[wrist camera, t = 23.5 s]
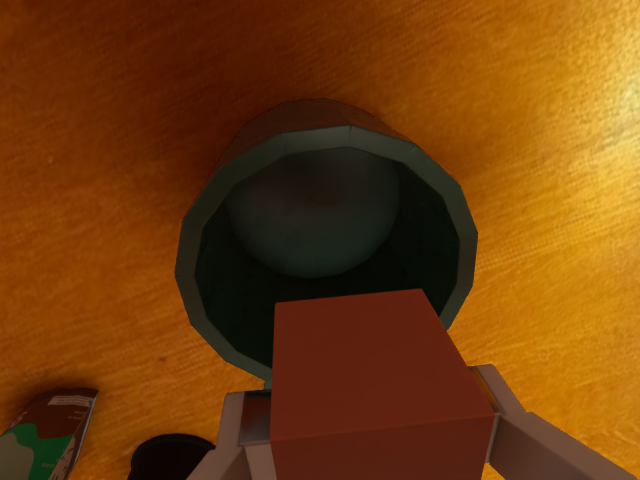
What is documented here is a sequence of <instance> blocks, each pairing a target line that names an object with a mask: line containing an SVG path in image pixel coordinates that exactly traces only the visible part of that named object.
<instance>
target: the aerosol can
mask: <svg viewBox="0 0 640 480" xmlns="http://www.w3.org/2000/svg"><path fill="white" fill-rule="evenodd" d="M215 449H216V448H215V447H214V446H212V445H211V444H210V443H208V442H206V441H204V440H202V439H199V438H196V437H191V436H186V435H167V436H162V437H158V438H155V439H152V440H150V441H148V442H146V443H144V444H143V445H141V446H140V447H139V448H138V449H137V450H136V452H135V453H134V454H133V456H132V459H131V471H130V474H129V476H128V479H127V480H186V479H187V478H188V477H189V475H190V474H191V473H192V472H193V470H194V469H195V468H196V467H197V465H198V464H199V463H200V462H201V461H202V459H203V458H204V457H205V456H206V454H207V453H208V452H209V451H210V450H215Z"/></svg>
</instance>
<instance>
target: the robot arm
mask: <svg viewBox="0 0 640 480" xmlns="http://www.w3.org/2000/svg"><path fill="white" fill-rule="evenodd" d="M467 367H468V368H469V370H470V372H471V374H472V375H473V377H474V379H475V380H476V382H477V384H478V385H479V387H480V389H481V391H482V392H483V394H484V396H485V397H486V399H487V401H488V402H489V404H490V406H491V408H492V409H493V411H494V413H495V419H494V424H493V428H492V432H491V437H490V441H489V446H488V450H487V455H486V459H485V463H489V462H490V465H491V466H492V467H493V468H494V469H495V470H496V471H497V472H498V473H499V474H500V475H501V476H503V477H504V478H505V479H506V480H637V478H636V477H635V476H633V475H632V474H630V473H629V472H627V471H625V470H624V469H622V468H621V467H619V466H617V465H616V464H614V463H613V462H611V461H609V460H608V459H606V458H605V457H603V456H601V455H600V454H598V453H597V452H595V451H593V450H592V449H590V448H589V447H587V446H585V445H584V444H582V443H581V442H579V441H577V440H576V439H574V438H573V437H571V436H569V435H568V434H566V433H565V432H563V431H561V430H560V429H558V428H557V427H555V426H553V425H552V424H550V423H549V422H547V421H545V420H544V419H542V418H541V417H539V416H537V415H536V414H534V413H533V412H526V411H525V410H524V408H523V407H522V405H521V404H520V402H519V401H518V399H517V398H516V397H515V395H514V394H513V392H512V391H511V389H510V388H509V386H508V385H507V384H506V382H505V381H504V379H503V378H502V376H501V375H500V373H499V372H498V371H497V369H496V368H495V366H493V365H492V364H486V365H477V366H467ZM271 394H272V389H265V390H253V391H244V392H233V393H227V394H226V396H225V398H224V404H223V409H222V415H221V421H220V426H219V432H218V438H217V443H216V449H215V450H210V451H209V452H208V453H207V454H206V456H205V457H204V458H203V459H202V461H201V462H200V463H199V464H198V465H197V467H196V468H195V469H194V470H193V472H192V473H191V474H190V475H189V477H188V478H187V479H186V480H277V477H276V472H275V467H274V461H273V456H272V450H271V445H270V419H271Z"/></svg>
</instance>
